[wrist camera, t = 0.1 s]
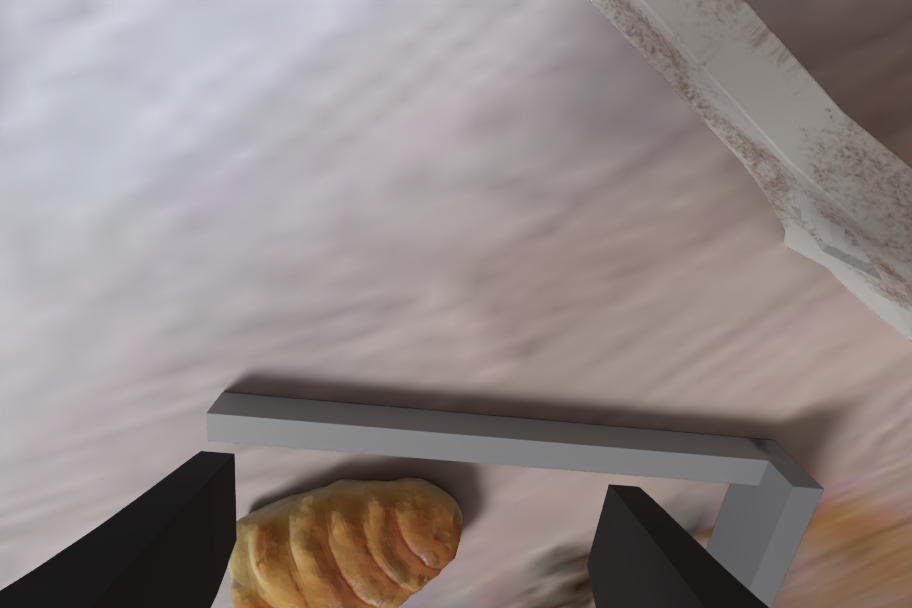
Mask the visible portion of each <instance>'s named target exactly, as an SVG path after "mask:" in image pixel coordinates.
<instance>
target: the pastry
mask: <svg viewBox="0 0 912 608" xmlns="http://www.w3.org/2000/svg"><path fill="white" fill-rule="evenodd" d="M462 526H463V515H462V513H461V511H460V508H459V506H458V504H457V503H456V501H455V500H454V499H453V497H451V496H450V495H449V494H448V493H446V492H445V491H444V490H442V489H441V488H439V487H437V486H436V485H434V484H432V483H430V482H429V481H427V480H424V479H419V478H402V479H398V480H393V481H379V480H367V481H362V480H356V479H339V480H336V481H335V482H333V483H332V484H330V485H329V486H325V487H319V488H316V489H313V490H310V491H307V492H303V493H300V494H295V495H290V496H288V497H286V498H283V499H280V500H278V501H275V502H273V503H270V504H267V505H266V506H264V507H262V508H260V509H258V510H256V511H253V512H251V513H249V514H248V515H246V516H245V517H243V518H241V519H239V520H238V521H237V522H236V532H237V540H236V543H235V546H234V549H233V551H232V554H231V557H230V560H229V563H228V566H229V571H230V574H231V578H232V584H231V599H232V604H233V607H234V608H397V607H399V606H400V605H402V604H403V603H404V602H405V601H406V600H407V599H408V598H409V597H410V596H411V595H413V594H415V593H416V592H418V591H420V590H421V589H422V587H424V586H425V585H426V584H427V583H428V582H429V581H430V580H431V579H433V578H435V577H436V576H438V575H439V573H440V572H441V570H442V569H443V568H444V567H445V566H446V565H447V564H448V563H449V562H451V561H452V560H453V559H454V558H455V556H456V552H457V548H458V545H459V541H460V536H461V530H462Z"/></svg>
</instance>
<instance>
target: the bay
mask: <svg viewBox="0 0 912 608" xmlns="http://www.w3.org/2000/svg"><path fill="white" fill-rule="evenodd" d="M206 414H207V433H208V441H212V442H225V443H237V444H249V445H262V446H274V447H287V448H299V449H311V450H324V451H336V452H349V453H361V454H373V455H386V456H398V457H411V458H423V459H435V460H448V461H460V462H473V463H485V464H497V465H510V466H522V467H535V468H547V469H559V470H572V471H584V472H596V473H609V474H621V475H634V476H646V477H658V478H671V479H683V480H696V481H708V482H720V483H731V484H730V486H729V489H728V492H727V494H726V497H725V500H724V502H723V505H722V508H721V511H720V513H719V516H718V519H717V521H716V524H715V527H714V529H713V532H712V535H711V538H710V540H709V543H708V546H707V548H706V551H707V552H708V553H709V554H710V555H711V556H712V557H714V558H715V559H716V560H717V561H718V562H719V563H720V564H721V565H722V566H723V567H724V568H725V569H726V570H727V571H729V572H730V573H731V574H732V575H733V576H734V577H735V578H736V579H737V580H738V581H739V582H741V583H742V584H743V585H744V586H745V587H746V588H747V589H748V590H749V591H751V592H752V593H753V594H754V595H755V596H756V597H757V598H759V599H760V600H761V601H762V602H763V603H764V604H766V605H767V606H768V607H769V608H771V607H772V604H773V602H774V600H775V598H776V595H777V593H778V591H779V589H780V586H781V584H782V582H783V580H784V578H785V575H786V573H787V571H788V569H789V566H790V564H791V562H792V560H793V558H794V555H795V553H796V551H797V549H798V546H799V544H800V542H801V540H802V537H803V535H804V533H805V531H806V529H807V526H808V524H809V522H810V520H811V517H812V515H813V513H814V511H815V508H816V506H817V504H818V502H819V500H820V497H821V495H822V493H823V491H824V489H823V488H822V487H821V486H820V485H819V484H818V483H817V482H816V481H815V480H814V479H813V478H812V477H811V476H810V475H809V474H808V473H807V472H806V471H805V470H804V469H803V468H802V467H801V466H800V465H799V464H798V463H797V462H796V461H795V460H794V459H793V458H792V457H791V456H790V455H789V454H788V453H787V452H786V451H785V450H784V449H783V448H782V447H781V446H780V445H779V444H778V443H777V442H776V441H775V440H764V439H753V438H741V437H730V436H719V435H707V434H696V433H684V432H673V431H661V430H650V429H639V428H627V427H616V426H604V425H593V424H581V423H570V422H558V421H547V420H536V419H524V418H513V417H501V416H490V415H478V414H467V413H456V412H444V411H433V410H421V409H410V408H398V407H387V406H375V405H364V404H353V403H341V402H330V401H318V400H307V399H295V398H284V397H273V396H261V395H250V394H238V393H227V392H222V393H221V395H220V396H219V397H218V399H217V400H216V401H215V403H214V404H213V405H212V407H211V408H210V409H209V411H208V412H207V413H206Z"/></svg>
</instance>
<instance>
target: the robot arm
mask: <svg viewBox="0 0 912 608" xmlns="http://www.w3.org/2000/svg"><path fill="white" fill-rule="evenodd" d="M236 540H237V532H236V495H235V457H234V454H230V453H218V452H205V451H201V452H199V453H198V454H196V455H195V456H194V457H192V458H191V459H189V460H188V461H187V462H185V463H184V464H183V465H181V466H180V467H179V468H177V469H176V470H175V471H173V472H172V473H171V474H169V475H168V476H167V477H165V478H164V479H163V480H161V481H160V482H159V483H157V484H156V485H155V486H153V487H152V488H151V489H149V490H148V491H147V492H145V493H144V494H143V495H141V496H140V497H138V498H137V499H136V500H134V501H133V502H132V503H130V504H129V505H128V506H126V507H125V508H123V509H122V510H121V511H119V512H118V513H116V514H115V515H114V516H112V517H111V518H110V519H108V520H107V521H105V522H104V523H103V524H101V525H100V526H98V527H97V528H96V529H94V530H93V531H91V532H90V533H88V534H87V535H85V536H84V537H82V538H81V539H79V540H78V541H76V542H75V543H73V544H72V545H70V546H69V547H67V548H66V549H64V550H63V551H61V552H60V553H58V554H57V555H55V556H54V557H52V558H51V559H49V560H48V561H46V562H45V563H43V564H42V565H40V566H39V567H37V568H36V569H34V570H33V571H31V572H30V573H28V574H26V575H25V576H23V577H22V578H20V579H19V580H17V581H15V582H14V583H12V584H10V585H9V586H7V587H6V588H4V589H2V590H1V591H0V608H211V606H212V604H213V601H214V599H215V597H216V595H217V593H218V590H219V587H220V585H221V582H222V579H223V577H224V574H225V571H226V569H227V566H228V563H229V560H230V557H231V554H232V551H233V549H234V546H235V543H236ZM587 566H588V571H589V576H590V581H591V587H592V592H593V597H594V601H595V606H596V608H769V607H768V606H767V605H766V604H764V603H763V602H762V601H761V600H760V599H759V598H757V597H756V596H755V595H754V594H753V593H752V592H751V591H749V590H748V589H747V588H746V587H745V586H744V585H743V584H742V583H741V582H739V581H738V580H737V579H736V578H735V577H734V576H733V575H732V574H731V573H730V572H729V571H727V570H726V569H725V568H724V567H723V566H722V565H721V564H720V563H719V562H718V561H717V560H716V559H715V558H714V557H712V556H711V555H710V554H709V553H708V552H707V551H706V550H705V549H704V548H703V547H702V546H701V545H700V544H699V543H698V542H697V541H696V540H695V539H694V538H693V537H692V536H690V535H689V534H688V533H687V532H686V531H685V530H684V529H683V528H682V527H681V526H680V525H679V524H678V523H677V522H676V521H675V520H674V519H673V518H672V517H671V516H670V515H669V514H668V513H667V512H666V511H665V510H664V509H663V508H662V507H660V506H659V505H658V504H657V503H656V502H655V501H654V500H653V499H652V498H651V497H650V496H649V495H648V494H647V493H645V492H644V491H643V490H642V489H641V488H640V487H634V486H622V485H610V484H609V486H608V490H607V494H606V497H605V501H604V504H603V508H602V512H601V515H600V519H599V523H598V526H597V530H596V534H595V537H594V541H593V544H592V548H591V552H590V555H589V559H588V563H587Z"/></svg>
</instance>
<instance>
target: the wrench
mask: <svg viewBox="0 0 912 608" xmlns="http://www.w3.org/2000/svg"><path fill="white" fill-rule="evenodd" d="M590 1H591V2H592V3H593V4H594V5H595V6H596V7H597V8H598V10H599V11H600V12H601V13H602V14H603V15H604V16H605V17H606V18H607V19H608V20H609V21H610V22H611V23H612V24H613V25H614V26H615V27H616V28H617V30H618V31H619V32H620V33H621V34H622V35H623V36H624V37H625V38H626V39H627V40H628V41H629V42H630V43H631V44H632V45H633V46H634V47H635V49H636V50H637V51H638V52H639V53H640V54H641V55H642V56H643V57H644V58H645V59H646V60H647V61H648V62H649V63H650V64H651V65H652V66H653V67H654V69H655V70H656V71H657V72H658V73H659V74H660V75H661V76H662V77H663V78H664V79H665V80H666V81H667V82H668V83H669V84H670V85H671V86H672V88H673V89H674V90H675V91H676V92H677V93H678V94H679V95H680V96H681V97H682V98H683V99H684V100H685V101H686V103H687V104H688V105H689V106H690V107H691V108H692V109H693V110H694V111H695V112H696V113H697V114H698V115H699V117H700V118H701V119H702V120H703V121H704V122H705V123H706V124H707V125H708V126H709V127H710V128H711V129H712V131H713V132H714V133H715V134H716V135H717V136H718V137H719V138H720V139H721V140H722V141H723V142H724V143H725V145H726V146H727V147H728V148H729V149H730V150H731V151H732V152H733V153H734V154H735V155H736V156H737V157H738V158H739V160H740V161H741V162H742V163H743V165H744V166H745V167H746V169H747V170H748V171H749V173H750V174H751V176H752V177H753V178H754V180H755V181H756V182H757V184H758V185H759V187H760V188H761V189H762V191H763V192H764V193H765V195H766V197H767V198H768V200H769V202H770V204H771V206H772V207H773V209H774V211H775V213H776V215H777V216H778V218H779V220H780V222H781V224H782V226H783V227H784V229H785V238H784V244H785V245H786V246H787V247H789V248H791V249H793V250H795V251H797V252H799V253H800V254H802V255H804V256H806V257H808V258H810V259H812V260H814V261H815V262H817V263H819V264H821V265H823V266H825V267H827V268H828V269H829V270H830V271H831V272H832V273H833V274H834V275H835V276H836V277H837V278H838V279H839V281H840V282H841V283H842V284H843V285H844V286H845V287H846V288H848V289H849V290H850V291H851V292H852V293H853V294H854V295H855V296H856V297H858V298H859V299H860V300H861V301H862V302H863V303H864V304H865V305H866V306H868V307H869V308H870V309H871V310H872V311H873V312H874V313H876V314H877V315H878V316H879V317H880V318H881V319H883V320H884V321H885V322H886V323H887V324H889V325H890V326H891V327H892V328H893V329H895V330H896V331H897V332H898V333H899V334H901V335H902V336H904V337H906V338H907V339H909V340H910V341H912V168H911V167H909V166H908V165H907V164H906V163H905V162H903V161H902V160H901V159H900V158H898V157H897V156H896V155H895V154H894V153H892V152H891V151H890V150H889V149H888V148H886V147H885V146H884V145H883V144H881V143H880V142H879V141H878V140H877V139H875V138H874V137H873V136H872V135H870V134H869V133H868V132H867V131H866V130H864V129H863V128H862V127H861V126H860V125H858V124H857V123H856V122H855V121H853V120H852V119H851V118H850V117H849V116H847V115H846V114H845V113H844V112H843V111H842V110H841V109H840V108H839V107H838V106H837V105H836V103H835V102H834V101H833V100H832V99H831V98H830V97H829V95H828V94H827V93H826V92H825V91H824V90H823V89H822V87H821V86H820V85H819V84H818V83H817V82H816V81H815V79H814V78H813V77H812V76H811V75H810V74H809V73H808V71H807V70H806V69H805V68H804V67H803V66H802V65H801V63H800V62H799V61H798V60H797V59H796V58H795V57H794V55H793V54H792V53H791V52H790V51H789V50H788V49H787V47H786V46H785V45H784V44H783V43H782V42H781V41H780V39H779V38H778V37H777V36H776V35H775V34H774V33H773V31H772V30H771V29H770V28H769V27H768V26H767V25H766V23H765V22H764V21H763V20H762V19H761V18H760V17H759V15H758V14H757V13H756V12H755V11H754V10H753V9H752V7H751V6H750V5H749V4H748V3H747V2H746V1H745V0H590Z"/></svg>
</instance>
